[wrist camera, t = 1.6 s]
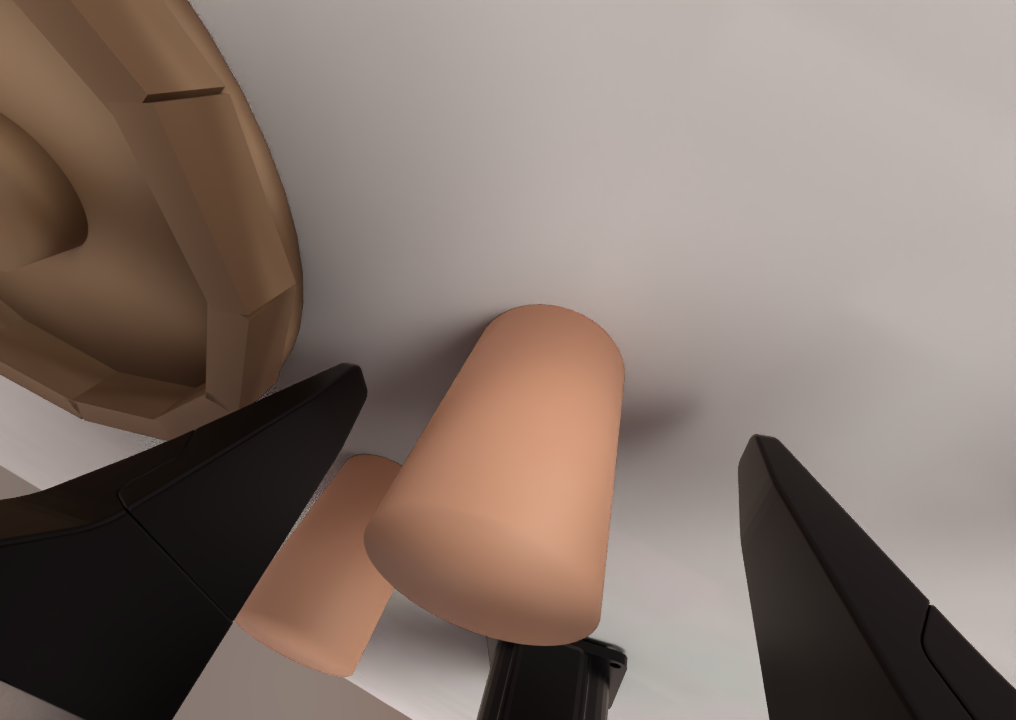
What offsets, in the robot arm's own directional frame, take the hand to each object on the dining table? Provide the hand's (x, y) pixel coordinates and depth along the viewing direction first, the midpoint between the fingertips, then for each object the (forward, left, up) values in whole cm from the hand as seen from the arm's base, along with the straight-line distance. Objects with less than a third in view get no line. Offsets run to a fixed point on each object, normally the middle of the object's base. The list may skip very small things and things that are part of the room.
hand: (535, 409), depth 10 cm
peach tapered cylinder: (-7, +6, -1) cm, 9 cm away
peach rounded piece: (0, 0, -1) cm, 1 cm away
